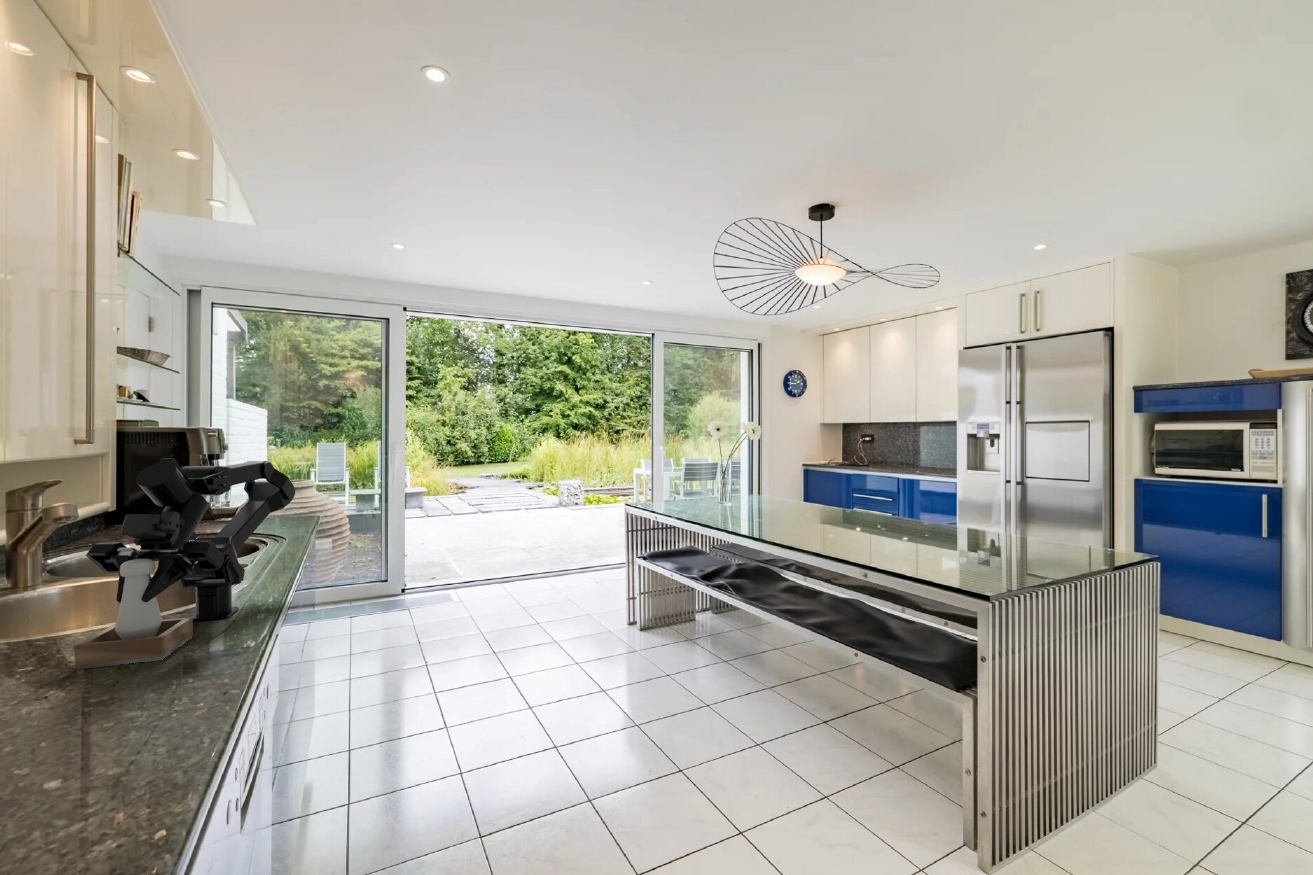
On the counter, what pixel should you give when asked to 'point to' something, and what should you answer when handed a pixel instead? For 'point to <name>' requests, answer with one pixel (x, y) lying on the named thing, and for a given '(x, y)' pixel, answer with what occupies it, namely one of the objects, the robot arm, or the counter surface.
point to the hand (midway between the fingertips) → (131, 601)
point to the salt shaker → (137, 602)
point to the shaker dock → (132, 645)
